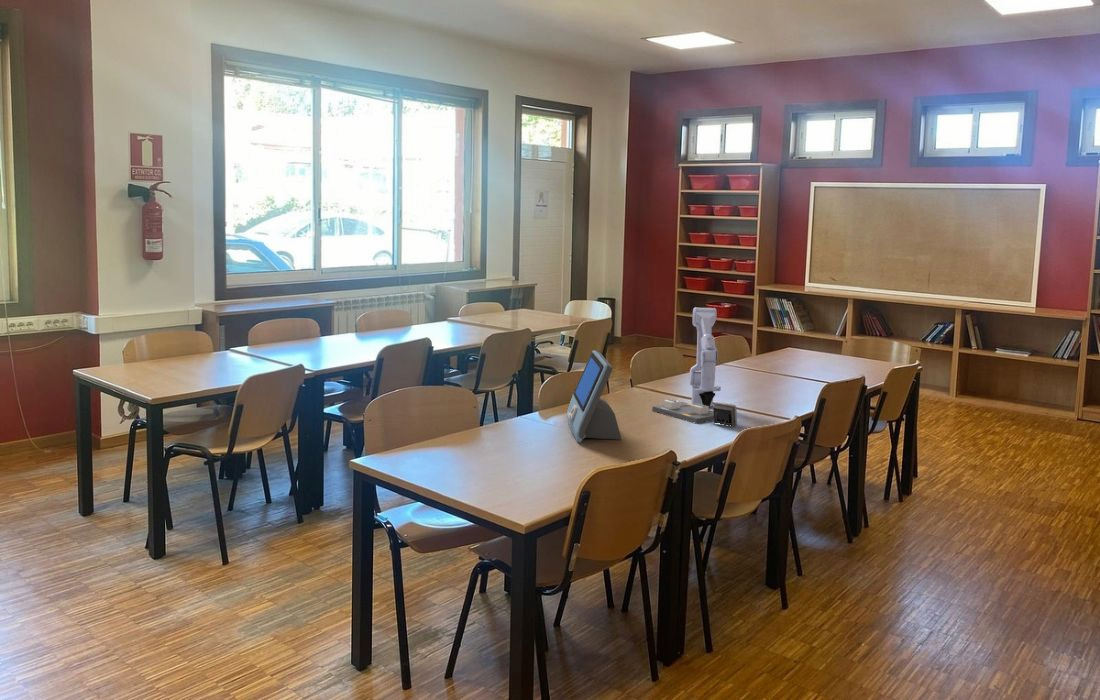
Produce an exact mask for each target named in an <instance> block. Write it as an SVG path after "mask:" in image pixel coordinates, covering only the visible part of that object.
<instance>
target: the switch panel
mask: <svg viewBox="0 0 1100 700" xmlns="http://www.w3.org/2000/svg"><path fill="white" fill-rule="evenodd" d="M692 405H693V404H690V402H689V403H688V402H684V401H680V408H678V409H672V410H671V409H668V408H664V407H663V404H658V405H652V410H653V411H652V412H655V411H656V413H658V412H659V414H662V413H663V414H662V415H665V414H666V416H669V415H670V416H669V417H672V416H673V417H672V418H676V417H677V418H676V419H679V418H680V419H679V420H682V419H684V420H683V421H686V420H687V422H689V421H691V422H690V423H693V422H695V423H694V424H696V423H697V424H700V423H699V422H702V423H705V422H704V421H708V422H711V421H710V420H713V421H714V413H713V409H710V408H709V411H708V413H707V414H701V415H699V414H696V413H692V412H691V410H692Z"/></svg>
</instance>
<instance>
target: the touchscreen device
mask: <svg viewBox="0 0 1100 700" xmlns="http://www.w3.org/2000/svg"><path fill="white" fill-rule="evenodd" d="M612 372H613V365H612V364H611V363H610V362H609V361H608V360H607V359H606V357H604V355H603V354H602V353H601V352H599V351H597V350H594V349H593V350H592V351H591V353H590V355H589V358H588V360H587V362H586V364H585V366H584V369H583V371H582V373H581V376H580V377H579V380H578V383H577V385H576V387H575V390H574V392H573V393H572V396H571V399H570V402H569V405H568V408H567V412H566V419H567V422H568V425H569V428H570V430H571V432H572V435H573V437H574V439H575V440H576V442H577V443H579V444H580V443H582V441H583V440H584V439H599V440H601V439H602V440H618V441H619V440H620V441H621V440H622V435H621V431H620V428H619V424H618V421H617V417H616V413H615V412H614V411H613V409H612V407H611V406H610V405H609V403H608V402H607V400H606V399H604V398H602V397H601V396H602V394H603V393H604V389H605V387H606V385H607V383H608V380H609V379H610V376H611V374H612Z"/></svg>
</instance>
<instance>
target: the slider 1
mask: <svg viewBox="0 0 1100 700" xmlns="http://www.w3.org/2000/svg"><path fill="white" fill-rule="evenodd" d="M680 402H681V401H680V400H677V399H672V398H667V399H665V400H664V399H663V403H662V405H663V407H664V408H668V409H671V410H672V409H678V408H680Z"/></svg>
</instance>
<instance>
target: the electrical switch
mask: <svg viewBox="0 0 1100 700" xmlns="http://www.w3.org/2000/svg"><path fill="white" fill-rule="evenodd" d="M713 405H714V406H713V407H712V408H713V409H712V410H713V413H714V420H713V424H714V423H720V424H724V423H725V425H731V426H732V427H735V426H734V425H736V426H737V425H738V414H737V412H738V411H737V405H736V404H732V403H731V404H730V403H724V402H718V401H715V402H713Z"/></svg>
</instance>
